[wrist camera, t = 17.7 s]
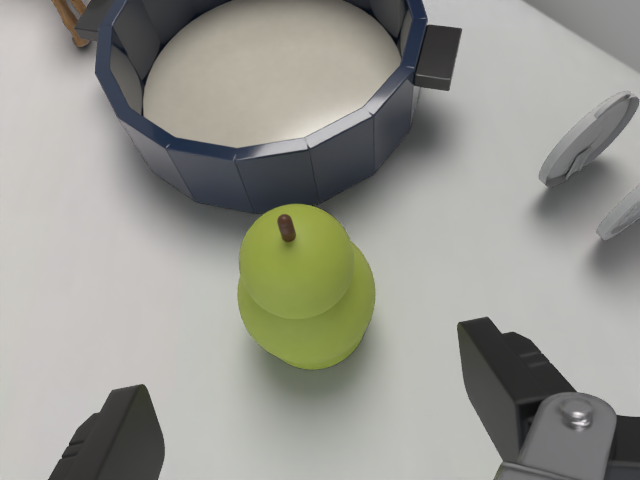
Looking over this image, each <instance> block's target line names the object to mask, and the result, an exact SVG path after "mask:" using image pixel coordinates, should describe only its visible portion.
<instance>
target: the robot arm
mask: <svg viewBox="0 0 640 480" xmlns="http://www.w3.org/2000/svg"><path fill="white" fill-rule="evenodd" d="M457 331H458V340H459V348H460V356H461V364H462V372H463V379H464V384H465V388H466V391H467V394H468V397H469V399H470V401H471V403H472V405H473V407H474V409H475V411H476V412H477V414H478V416H479V418H480V420H481V422H482V423H483V425H484V427H485V429H486V431H487V432H488V434H489V436H490V438H491V440H492V442H493V443H494V445H495V447H496V449H497V451H498V452H499V454H500V456H501V458H502V460H503V462H502V463H501V465H500V467H499V469H498V471H497V473H496V475H495V478H494V480H640V417H629V416H620V415H616V413H615V411H614V409H613V408H612V407H611V406H610V405H609V404H608V403H607V402H605V401H603V400H602V399H600V398H598V397H595V396H592V395H589V394H585V393H578V392H577V391H576V390H575V389H574V388H573V387H572V386H571V385H570V384H569V382H568V381H567V380H566V379H565V378H564V377H563V376H562V375H561V373H560V372H559V371H558V370H557V369H556V368H555V367H554V366H553V365H552V363H550V362H549V360H548V359H547V358H546V357H545V356H544V354H541V351H540V350H539V349H538V348H537V347H536V346H535V344H534V343H533V342H532V341H531V340H530V339H527V338H525V337H523V336H521V335H519V334H517V333H515V332H509V333H504V334H502V333H501V332H500V331H499V330H498V328H497V327H496V326H495V325H494V324H493V322H492V321H491V320H490V319H489V318H488V317H483V318H478V319H473V320H468V321H463V322H459V323H458V325H457ZM164 456H165V446H164V438H163V434H162V431H161V428H160V425H159V422H158V419H157V416H156V413H155V410H154V407H153V404H152V401H151V398H150V395H149V392H148V390H147V388H146V386H145V385H143V384H140V385H135V386H130V387H125V388H120V389H115V390H112V391H111V393H110V394H109V396H108V398H107V400H106V402H105V404H104V405H103V407H102V409H101V411H100V413H95V414H93V415H92V416H90V417H89V418H88V419H87V420H86V421H85V422H84V423H83V424H82V425H81V426H80V427H79V428H78V429H77V430H76V432H75V434H74V436H73V437H72V439H71V441H70V443H69V446H68V447H67V448H66V449H65V451H64V453H63V455H62V459H60V460H59V462H58V463H57V465H56V467H55V469H54V470H53V472H52V474H51V475H50V477H49V479H48V480H158V478H159V474H160V471H161V468H162V465H163V462H164Z"/></svg>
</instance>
